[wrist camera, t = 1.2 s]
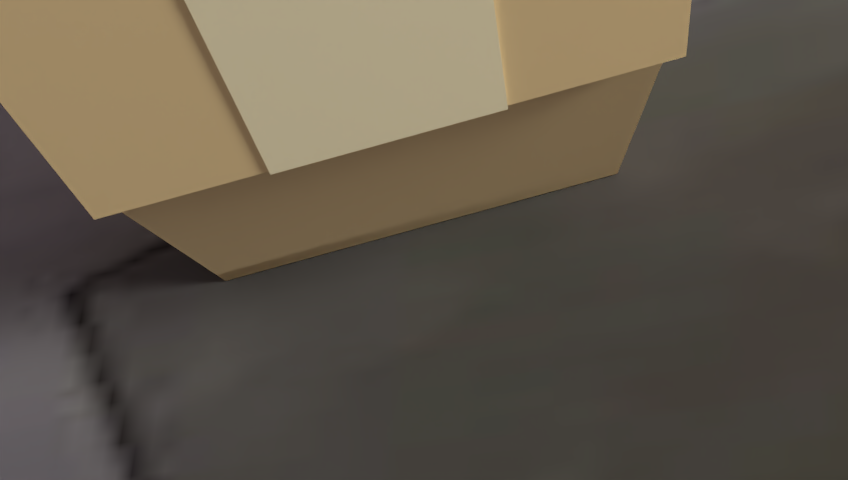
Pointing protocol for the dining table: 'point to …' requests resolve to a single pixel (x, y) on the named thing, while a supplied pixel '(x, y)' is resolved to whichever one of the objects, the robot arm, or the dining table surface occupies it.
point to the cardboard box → (406, 180)
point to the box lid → (289, 78)
